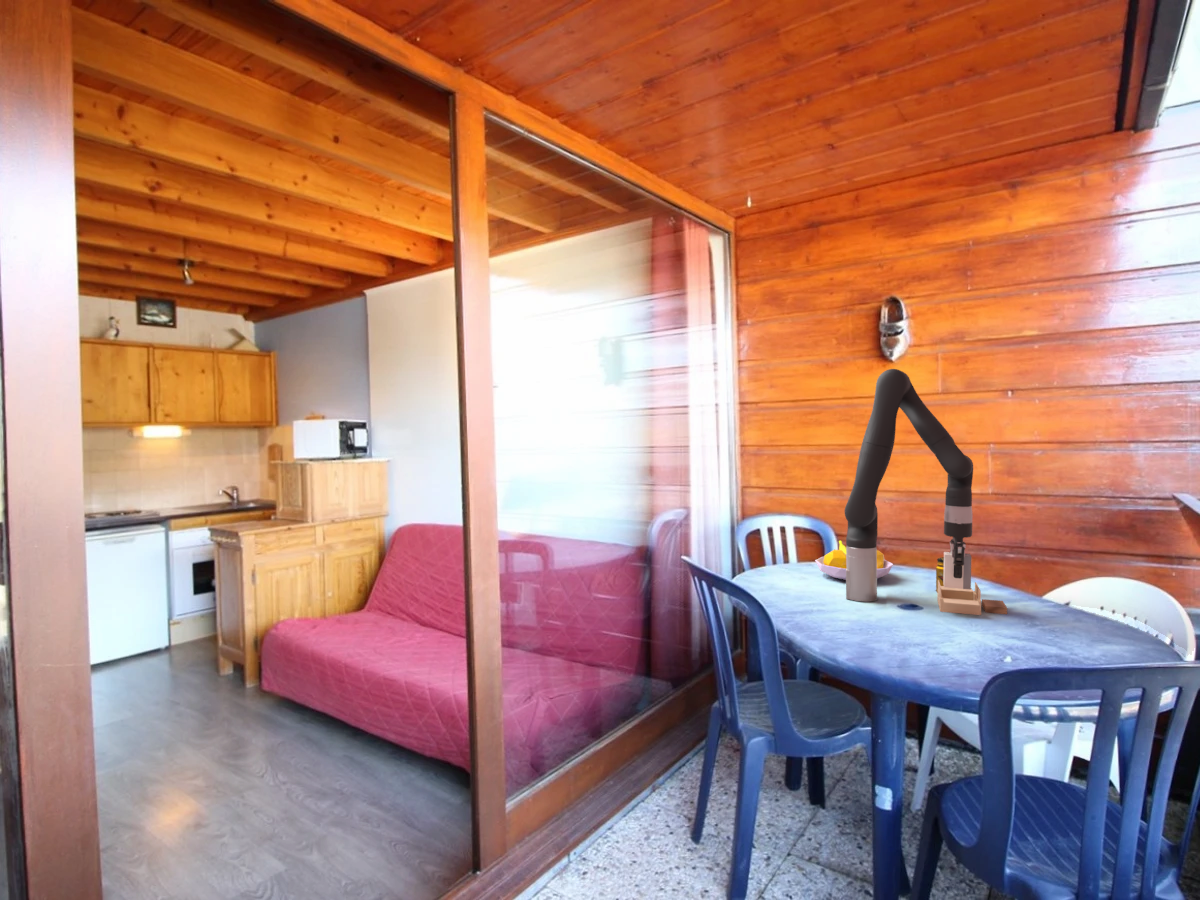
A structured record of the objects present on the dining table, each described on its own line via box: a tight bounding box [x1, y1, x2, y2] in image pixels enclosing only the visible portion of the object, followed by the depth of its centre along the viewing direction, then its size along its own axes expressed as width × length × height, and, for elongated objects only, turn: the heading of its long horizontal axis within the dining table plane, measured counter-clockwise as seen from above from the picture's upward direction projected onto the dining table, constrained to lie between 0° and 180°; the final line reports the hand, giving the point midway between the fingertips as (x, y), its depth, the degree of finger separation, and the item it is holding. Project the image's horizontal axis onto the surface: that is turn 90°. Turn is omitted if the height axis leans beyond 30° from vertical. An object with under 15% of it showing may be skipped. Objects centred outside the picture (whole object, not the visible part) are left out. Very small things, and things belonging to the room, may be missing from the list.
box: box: [943, 551, 972, 590], centre depth 197 cm, size 7×4×10 cm, turn 66°
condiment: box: [934, 556, 944, 593], centre depth 215 cm, size 7×8×12 cm
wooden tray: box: [936, 580, 982, 616], centre depth 197 cm, size 11×21×8 cm, turn 156°
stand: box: [981, 598, 1008, 615], centre depth 194 cm, size 6×8×2 cm
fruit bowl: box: [814, 540, 894, 581], centre depth 241 cm, size 28×27×11 cm
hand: (957, 575), depth 197 cm, fingers closed on box, 4 cm apart
